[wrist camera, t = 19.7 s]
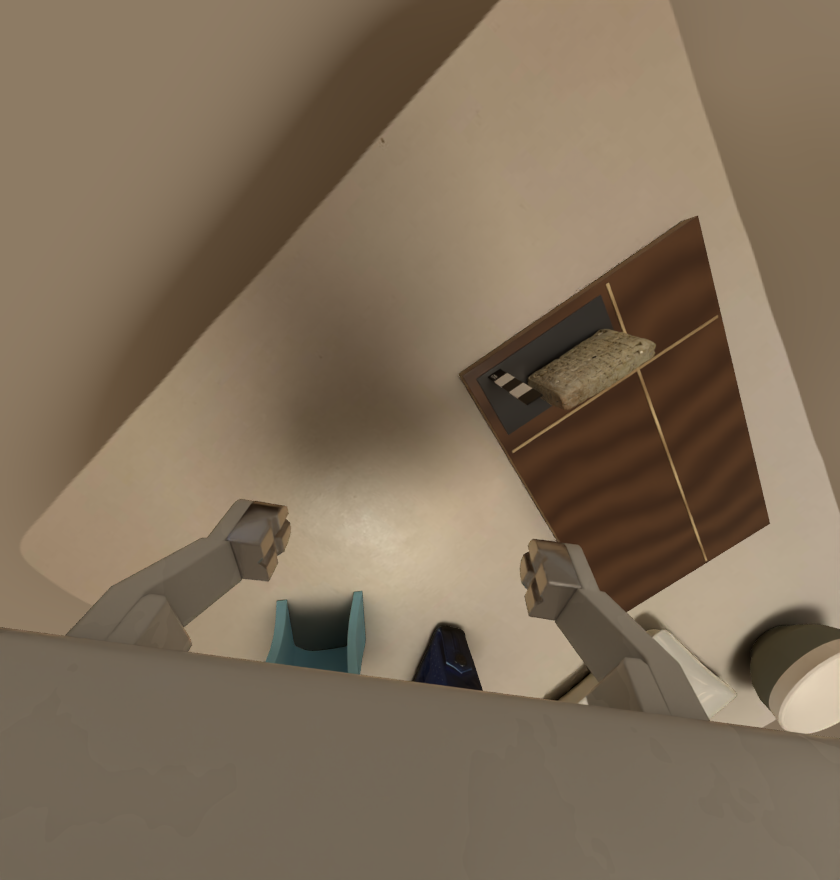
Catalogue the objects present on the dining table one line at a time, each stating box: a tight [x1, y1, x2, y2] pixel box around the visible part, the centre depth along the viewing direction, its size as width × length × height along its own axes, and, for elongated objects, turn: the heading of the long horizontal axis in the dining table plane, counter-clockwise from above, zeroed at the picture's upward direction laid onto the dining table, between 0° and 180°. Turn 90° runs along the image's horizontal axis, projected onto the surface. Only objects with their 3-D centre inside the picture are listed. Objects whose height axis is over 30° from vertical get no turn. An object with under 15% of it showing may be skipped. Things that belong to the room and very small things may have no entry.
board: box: [459, 216, 770, 612], centre depth 38 cm, size 42×26×2 cm, turn 33°
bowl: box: [750, 624, 840, 734], centre depth 52 cm, size 19×19×8 cm
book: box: [413, 626, 483, 691], centre depth 35 cm, size 14×5×20 cm, turn 162°
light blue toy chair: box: [266, 591, 366, 675], centre depth 28 cm, size 10×10×25 cm
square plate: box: [558, 629, 737, 719], centre depth 52 cm, size 27×27×4 cm
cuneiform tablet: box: [488, 329, 656, 410], centre depth 29 cm, size 7×4×12 cm
